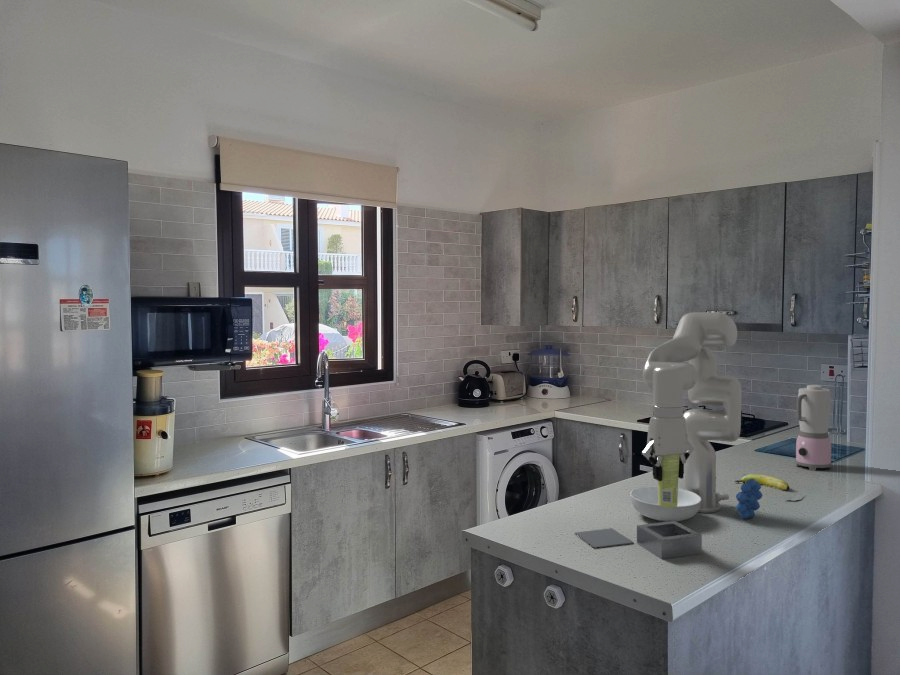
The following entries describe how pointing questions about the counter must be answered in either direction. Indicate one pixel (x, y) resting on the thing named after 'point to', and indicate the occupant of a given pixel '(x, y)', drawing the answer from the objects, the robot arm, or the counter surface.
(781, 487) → the banana
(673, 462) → the tube
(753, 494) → the grapes
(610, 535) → the mat
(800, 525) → the counter surface
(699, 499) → the serving bowl
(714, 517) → the counter surface
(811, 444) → the blender
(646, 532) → the housing
